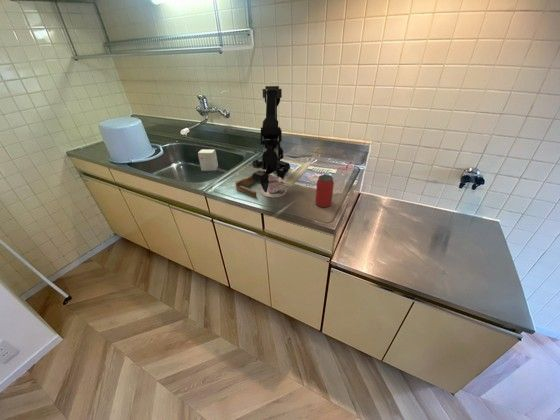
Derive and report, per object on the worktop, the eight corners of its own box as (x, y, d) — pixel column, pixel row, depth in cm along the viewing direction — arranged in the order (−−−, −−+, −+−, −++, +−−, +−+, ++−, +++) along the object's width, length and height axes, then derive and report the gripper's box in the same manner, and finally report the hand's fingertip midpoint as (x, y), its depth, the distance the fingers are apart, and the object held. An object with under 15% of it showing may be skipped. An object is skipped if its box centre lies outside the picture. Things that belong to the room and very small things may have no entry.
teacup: (256, 196, 109) (255, 183, 106) (266, 184, 119) (265, 172, 115) (282, 199, 106) (282, 187, 103) (289, 187, 116) (289, 175, 112)
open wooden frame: (263, 176, 126) (263, 169, 124) (281, 183, 119) (281, 175, 117) (236, 189, 114) (235, 181, 112) (254, 197, 107) (253, 189, 105)
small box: (218, 167, 137) (215, 149, 131) (215, 171, 132) (212, 152, 127) (204, 167, 138) (201, 149, 132) (201, 171, 133) (197, 152, 127)
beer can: (313, 200, 105) (315, 174, 98) (328, 199, 105) (331, 173, 99) (317, 208, 99) (319, 181, 93) (333, 207, 100) (336, 180, 93)
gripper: (271, 145, 112) (272, 176, 121) (241, 157, 101) (245, 190, 109) (290, 150, 106) (290, 183, 115) (261, 163, 94) (263, 198, 103)
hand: (272, 188), depth 110 cm, fingers open, 9 cm apart
